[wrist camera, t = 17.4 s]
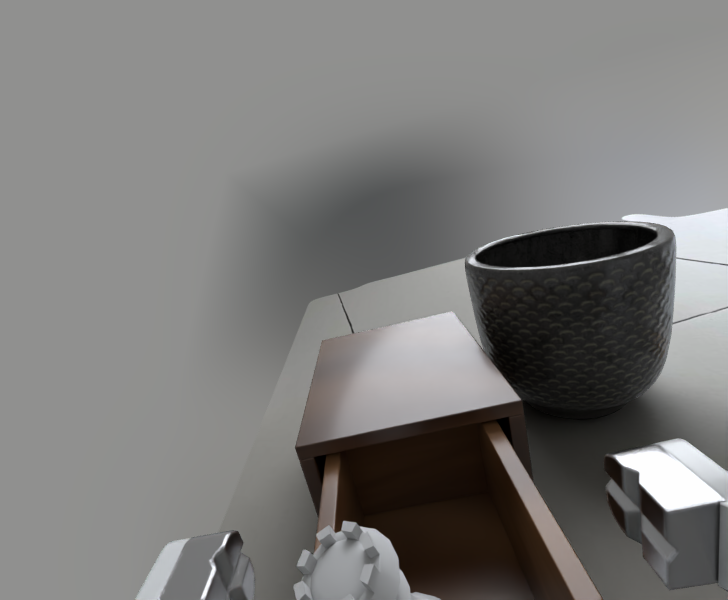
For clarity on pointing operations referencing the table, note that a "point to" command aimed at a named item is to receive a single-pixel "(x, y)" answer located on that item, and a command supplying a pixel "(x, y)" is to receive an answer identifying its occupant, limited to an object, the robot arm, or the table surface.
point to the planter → (577, 312)
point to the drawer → (456, 516)
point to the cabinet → (402, 392)
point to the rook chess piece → (353, 568)
